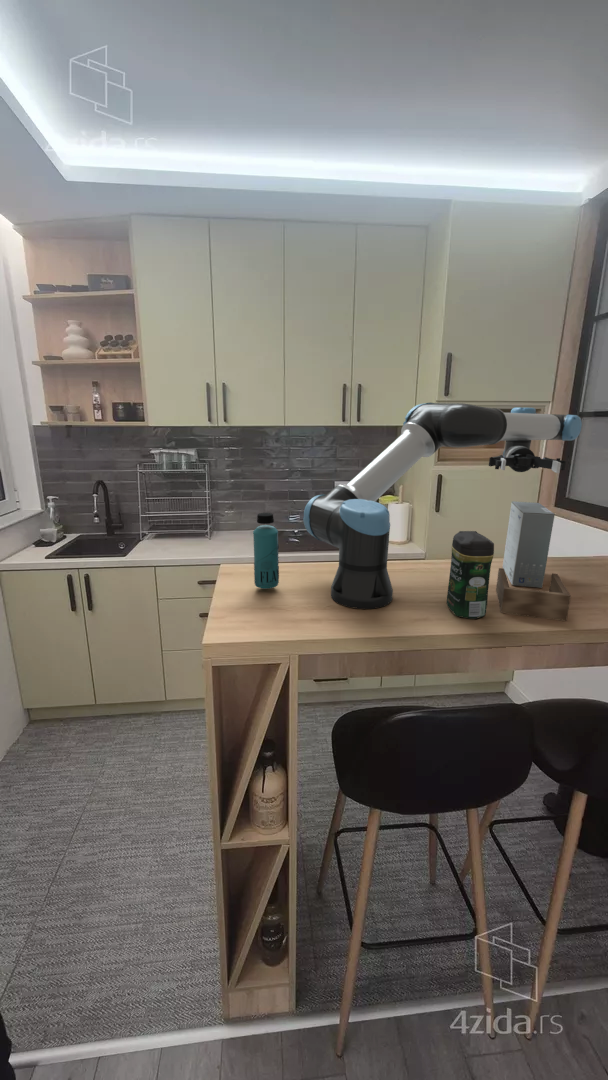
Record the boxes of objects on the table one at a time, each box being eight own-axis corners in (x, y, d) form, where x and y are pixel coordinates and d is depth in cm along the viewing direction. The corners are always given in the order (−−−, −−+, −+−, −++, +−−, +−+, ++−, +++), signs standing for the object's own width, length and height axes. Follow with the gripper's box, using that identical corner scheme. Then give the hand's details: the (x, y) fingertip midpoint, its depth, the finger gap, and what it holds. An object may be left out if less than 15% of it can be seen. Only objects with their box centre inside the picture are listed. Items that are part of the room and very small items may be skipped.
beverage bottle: (257, 595, 114) (255, 517, 108) (251, 586, 120) (249, 511, 115) (282, 592, 116) (281, 515, 111) (275, 583, 122) (274, 509, 117)
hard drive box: (543, 589, 119) (555, 514, 114) (511, 586, 121) (522, 512, 115) (529, 569, 134) (539, 501, 128) (501, 566, 136) (510, 500, 130)
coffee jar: (441, 602, 111) (448, 528, 106) (474, 602, 111) (483, 528, 106) (455, 620, 102) (464, 540, 96) (490, 620, 102) (501, 540, 97)
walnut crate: (501, 612, 106) (504, 588, 104) (495, 589, 119) (498, 568, 117) (566, 620, 102) (570, 595, 100) (553, 596, 115) (557, 573, 113)
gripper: (562, 473, 142) (579, 483, 123) (476, 468, 149) (480, 477, 130) (566, 448, 140) (585, 454, 121) (479, 445, 147) (483, 450, 128)
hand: (530, 466), depth 125 cm, fingers open, 13 cm apart
